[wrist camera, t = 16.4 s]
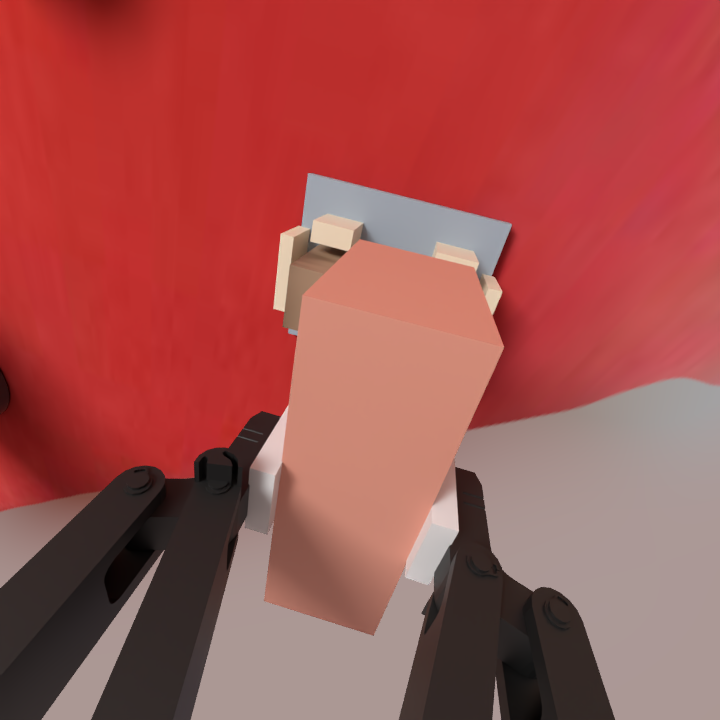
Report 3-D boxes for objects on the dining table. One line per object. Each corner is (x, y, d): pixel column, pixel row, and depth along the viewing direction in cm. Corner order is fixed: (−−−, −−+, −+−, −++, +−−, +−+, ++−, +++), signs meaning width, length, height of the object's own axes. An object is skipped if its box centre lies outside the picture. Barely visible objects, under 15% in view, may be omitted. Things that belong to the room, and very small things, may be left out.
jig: (289, 328, 36) (269, 350, 32) (308, 172, 29) (286, 173, 25) (452, 373, 35) (454, 403, 31) (512, 223, 28) (527, 234, 24)
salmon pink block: (315, 471, 20) (264, 600, 14) (360, 239, 14) (302, 294, 8) (392, 494, 20) (373, 635, 14) (474, 267, 14) (504, 347, 8)
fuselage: (315, 292, 33) (282, 326, 26) (323, 241, 30) (289, 264, 23) (445, 327, 32) (448, 372, 25) (463, 278, 30) (472, 313, 23)
